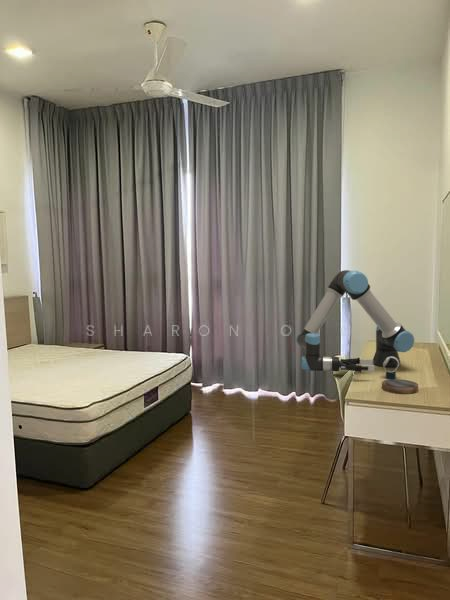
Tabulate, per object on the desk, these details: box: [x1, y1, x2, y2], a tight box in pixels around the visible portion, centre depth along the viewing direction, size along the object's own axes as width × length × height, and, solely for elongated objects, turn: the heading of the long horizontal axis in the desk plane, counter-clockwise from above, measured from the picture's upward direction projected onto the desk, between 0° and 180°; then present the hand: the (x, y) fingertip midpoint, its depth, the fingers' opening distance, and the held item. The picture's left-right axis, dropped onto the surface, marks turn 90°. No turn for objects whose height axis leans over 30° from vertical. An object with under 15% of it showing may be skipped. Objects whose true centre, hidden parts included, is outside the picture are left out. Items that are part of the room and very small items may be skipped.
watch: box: [382, 356, 400, 380], centre depth 244 cm, size 6×8×11 cm
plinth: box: [381, 378, 419, 395], centre depth 224 cm, size 16×16×3 cm
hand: (373, 365), depth 246 cm, fingers open, 13 cm apart
